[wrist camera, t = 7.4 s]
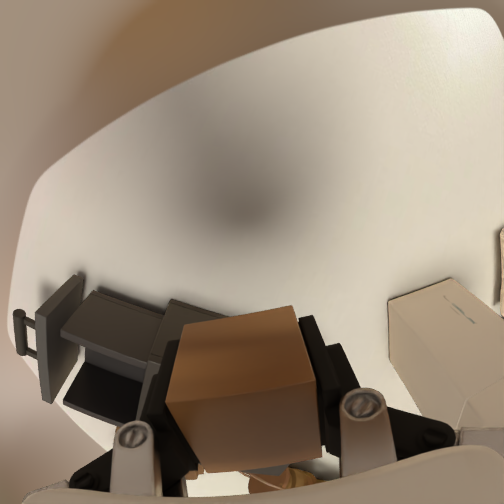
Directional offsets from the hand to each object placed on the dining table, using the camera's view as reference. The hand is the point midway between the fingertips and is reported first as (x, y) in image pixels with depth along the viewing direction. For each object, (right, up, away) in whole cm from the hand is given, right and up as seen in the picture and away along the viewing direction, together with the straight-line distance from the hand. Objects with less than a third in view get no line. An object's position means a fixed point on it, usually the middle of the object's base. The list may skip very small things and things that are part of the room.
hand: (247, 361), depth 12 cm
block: (0, 0, 0) cm, 0 cm away
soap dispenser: (+20, -4, +21) cm, 29 cm away
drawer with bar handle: (-15, -5, +19) cm, 24 cm away
